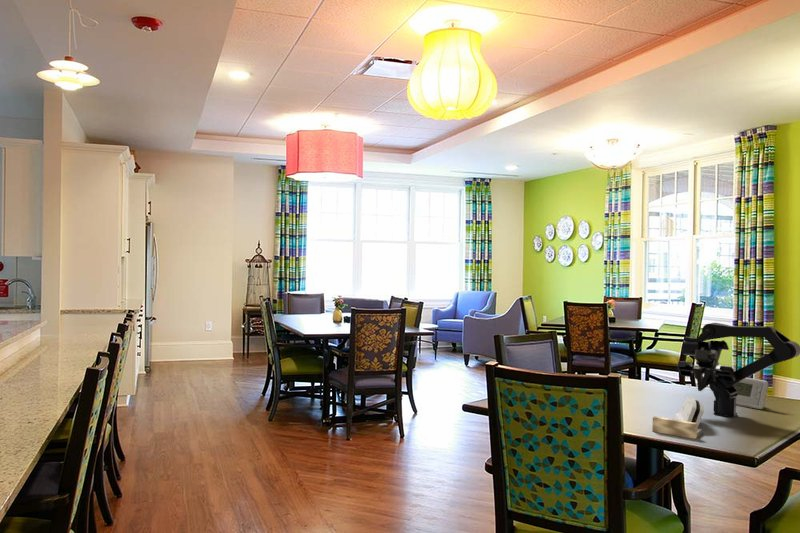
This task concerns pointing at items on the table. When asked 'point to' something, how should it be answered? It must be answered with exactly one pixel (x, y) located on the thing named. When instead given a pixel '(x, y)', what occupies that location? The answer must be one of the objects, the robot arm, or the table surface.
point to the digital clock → (751, 393)
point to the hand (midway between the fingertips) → (699, 390)
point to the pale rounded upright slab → (690, 411)
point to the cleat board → (676, 427)
